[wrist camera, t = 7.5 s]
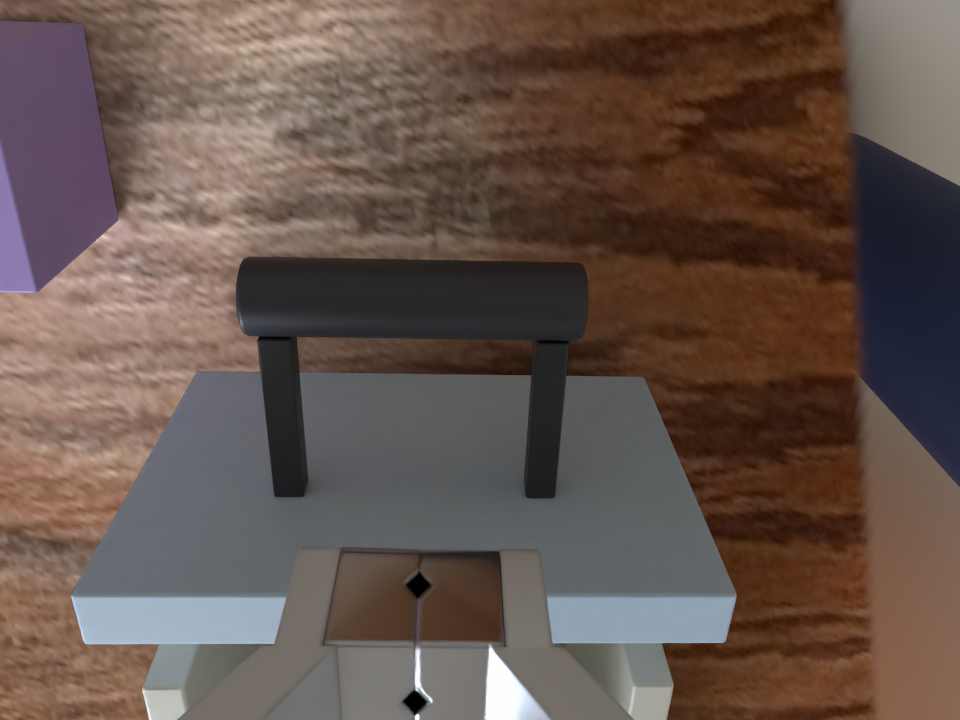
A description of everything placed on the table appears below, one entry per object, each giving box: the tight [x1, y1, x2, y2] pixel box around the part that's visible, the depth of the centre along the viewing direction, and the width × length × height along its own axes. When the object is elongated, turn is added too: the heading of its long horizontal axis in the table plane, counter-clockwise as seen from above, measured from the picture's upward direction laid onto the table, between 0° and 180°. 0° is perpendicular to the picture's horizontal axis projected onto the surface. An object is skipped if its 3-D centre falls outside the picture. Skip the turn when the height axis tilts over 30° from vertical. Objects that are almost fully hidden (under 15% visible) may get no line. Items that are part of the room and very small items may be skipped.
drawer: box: [72, 257, 737, 720], centre depth 19 cm, size 18×11×8 cm, turn 178°
